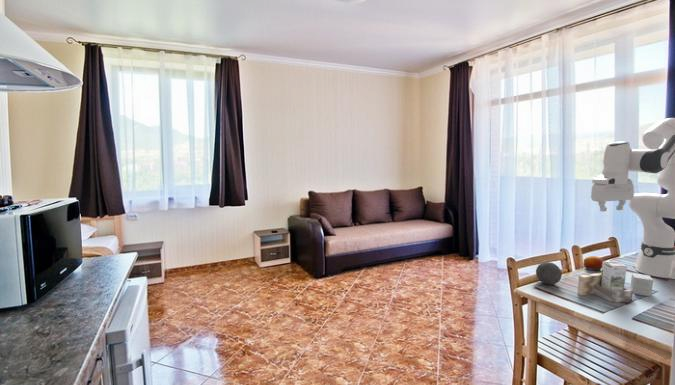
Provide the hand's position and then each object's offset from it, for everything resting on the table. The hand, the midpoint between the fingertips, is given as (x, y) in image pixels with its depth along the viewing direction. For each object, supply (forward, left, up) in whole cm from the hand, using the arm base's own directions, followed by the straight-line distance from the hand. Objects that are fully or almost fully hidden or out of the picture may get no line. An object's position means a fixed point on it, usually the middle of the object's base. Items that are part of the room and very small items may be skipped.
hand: (611, 210), depth 150 cm
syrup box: (+9, +10, -34) cm, 37 cm away
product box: (-7, +11, -34) cm, 37 cm away
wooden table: (+9, +9, -34) cm, 36 cm away
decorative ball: (+23, -8, -34) cm, 42 cm away
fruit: (-14, -16, -34) cm, 40 cm away
